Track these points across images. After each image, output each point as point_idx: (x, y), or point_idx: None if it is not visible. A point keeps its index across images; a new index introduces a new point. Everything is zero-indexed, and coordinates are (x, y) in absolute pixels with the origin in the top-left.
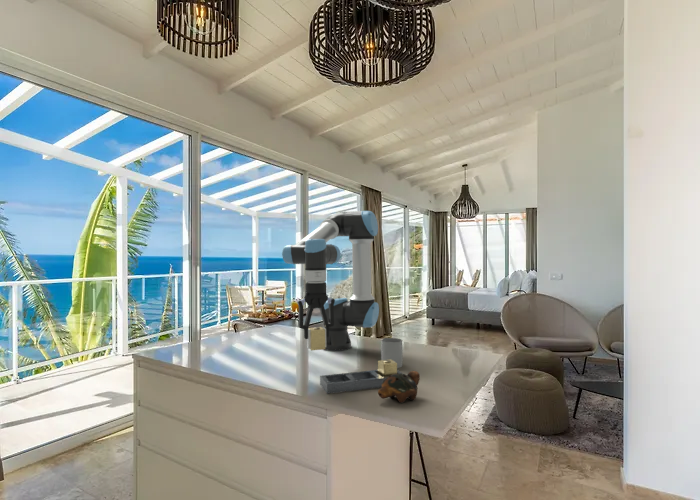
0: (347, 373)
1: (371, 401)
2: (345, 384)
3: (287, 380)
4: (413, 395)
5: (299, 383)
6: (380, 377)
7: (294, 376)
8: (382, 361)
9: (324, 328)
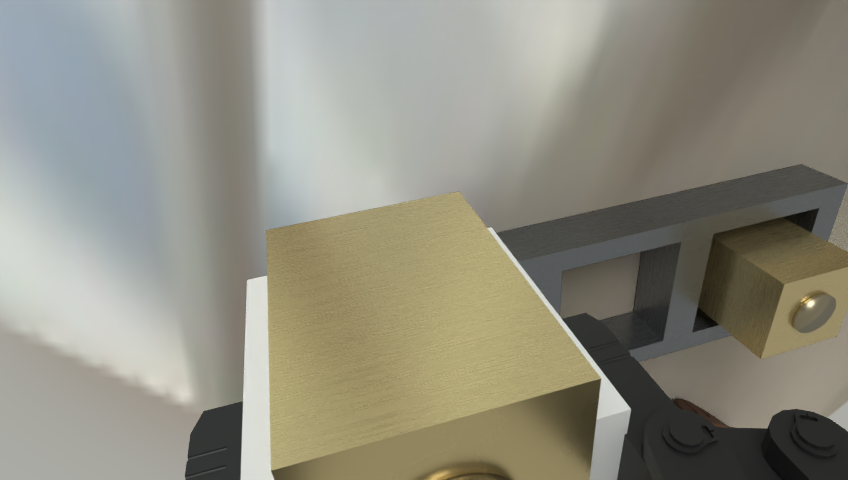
0: (547, 265)
1: None
2: None
3: (68, 154)
4: None
5: (193, 235)
6: (681, 338)
7: (117, 44)
8: (794, 303)
9: (603, 475)
